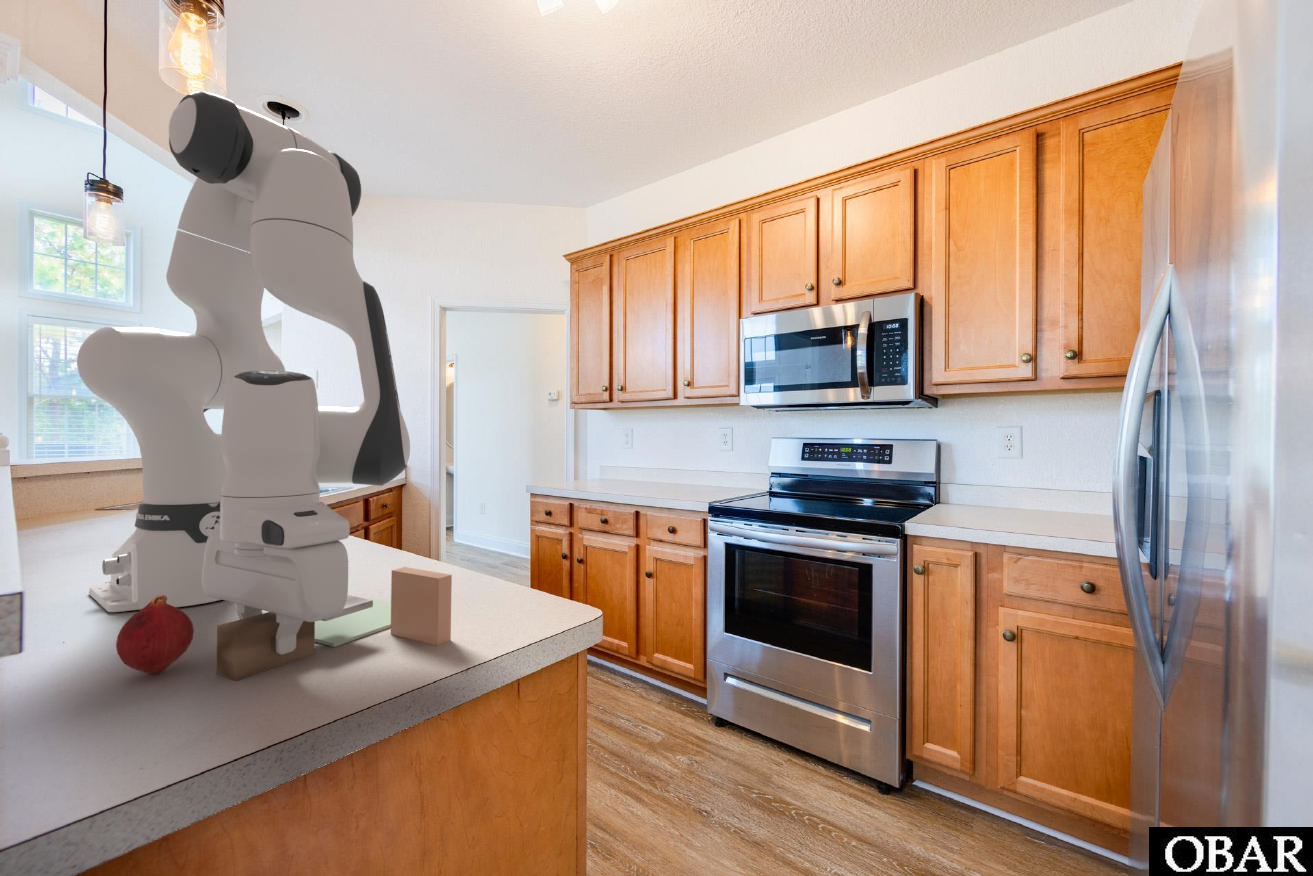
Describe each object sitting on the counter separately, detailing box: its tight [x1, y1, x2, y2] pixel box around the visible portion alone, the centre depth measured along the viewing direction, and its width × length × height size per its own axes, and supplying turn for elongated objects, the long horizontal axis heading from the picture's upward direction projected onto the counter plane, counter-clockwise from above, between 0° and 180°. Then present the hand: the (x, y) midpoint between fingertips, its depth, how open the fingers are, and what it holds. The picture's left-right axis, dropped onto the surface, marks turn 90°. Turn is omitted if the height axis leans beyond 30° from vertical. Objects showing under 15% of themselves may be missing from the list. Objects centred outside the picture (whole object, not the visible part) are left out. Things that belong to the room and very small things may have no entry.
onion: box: [115, 595, 195, 675], centre depth 57 cm, size 6×6×8 cm
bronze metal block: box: [216, 594, 373, 682], centre depth 63 cm, size 7×14×5 cm, turn 155°
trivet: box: [314, 597, 391, 648], centre depth 74 cm, size 12×14×1 cm
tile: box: [390, 566, 453, 646], centre depth 68 cm, size 8×2×8 cm, turn 65°
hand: (269, 647), depth 60 cm, fingers closed on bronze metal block, 3 cm apart
